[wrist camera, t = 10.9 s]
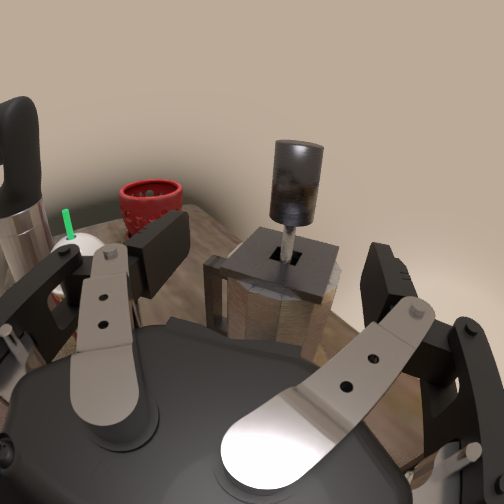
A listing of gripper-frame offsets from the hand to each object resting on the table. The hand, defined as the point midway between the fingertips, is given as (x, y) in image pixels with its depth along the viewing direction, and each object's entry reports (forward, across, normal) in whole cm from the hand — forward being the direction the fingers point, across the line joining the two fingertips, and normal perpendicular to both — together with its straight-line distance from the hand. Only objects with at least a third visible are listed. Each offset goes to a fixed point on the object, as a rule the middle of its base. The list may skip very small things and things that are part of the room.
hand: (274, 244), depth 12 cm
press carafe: (+11, 0, +22) cm, 25 cm away
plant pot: (+35, +30, +23) cm, 51 cm away
